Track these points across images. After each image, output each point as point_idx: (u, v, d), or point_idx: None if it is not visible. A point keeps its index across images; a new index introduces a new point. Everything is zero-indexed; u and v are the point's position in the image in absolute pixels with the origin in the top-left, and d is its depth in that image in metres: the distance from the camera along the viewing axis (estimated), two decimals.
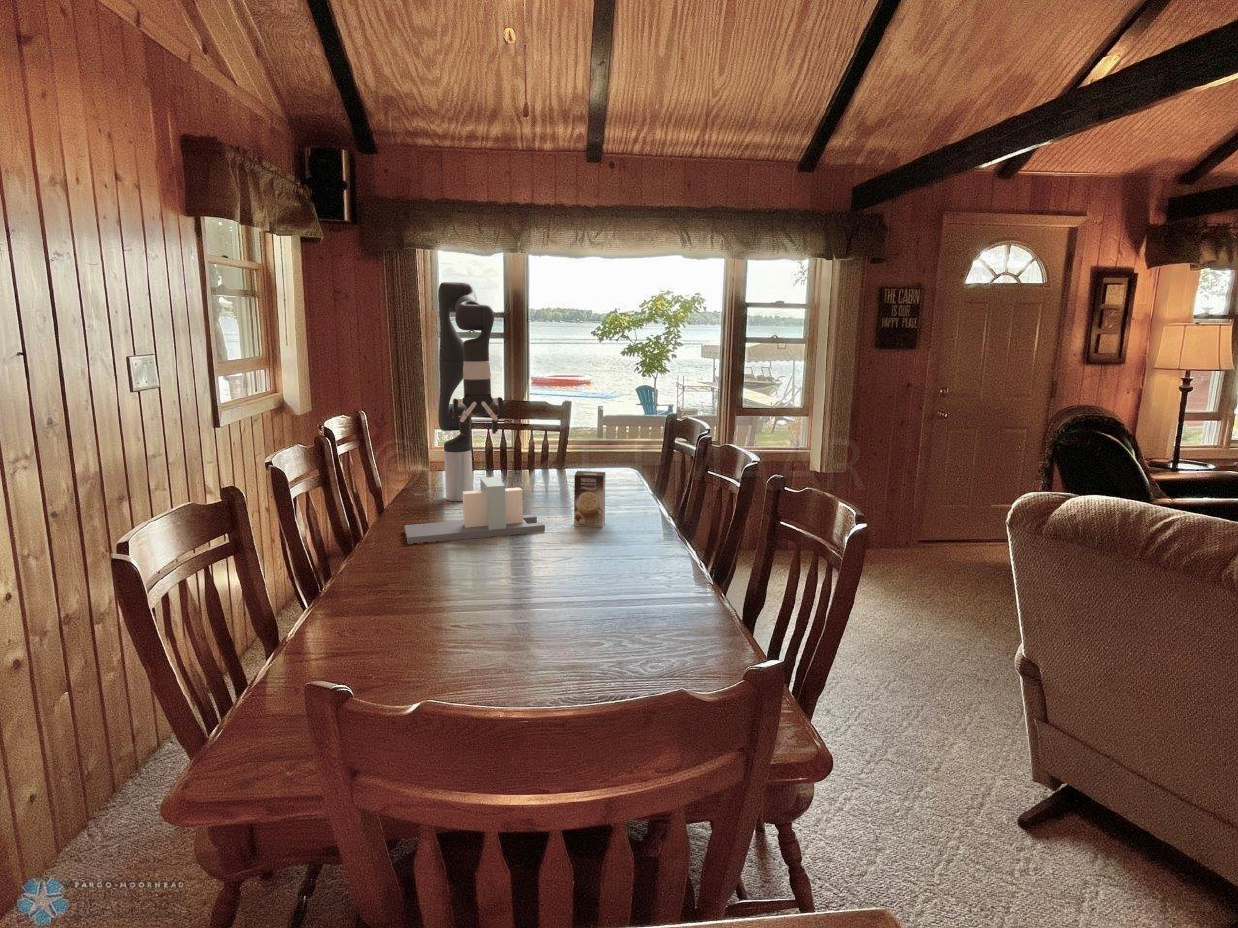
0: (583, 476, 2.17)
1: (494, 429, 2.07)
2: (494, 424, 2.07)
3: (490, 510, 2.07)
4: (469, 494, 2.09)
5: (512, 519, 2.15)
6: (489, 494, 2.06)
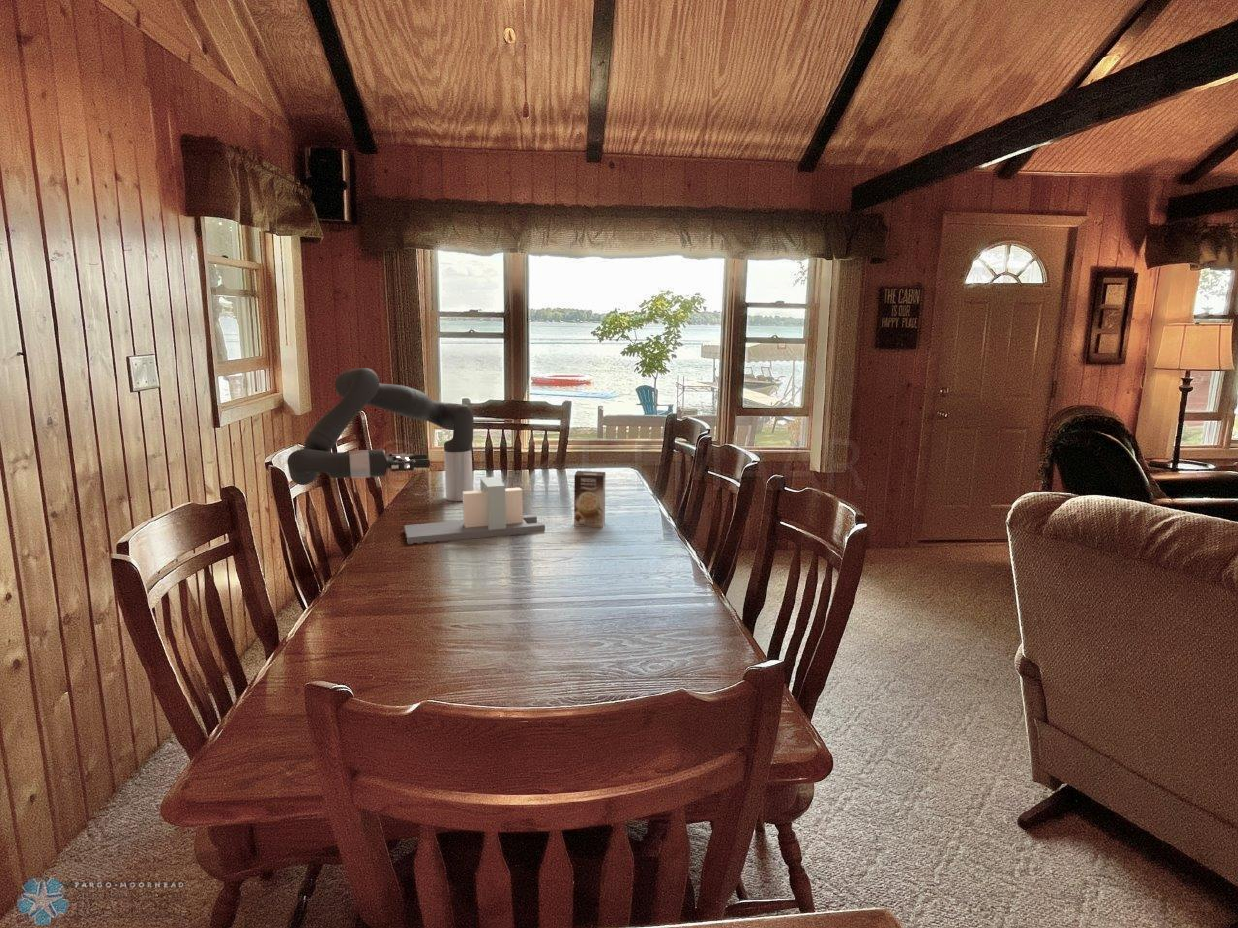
0: (583, 476, 2.17)
1: None
2: None
3: (490, 510, 2.07)
4: (469, 494, 2.09)
5: (512, 519, 2.15)
6: (489, 494, 2.06)
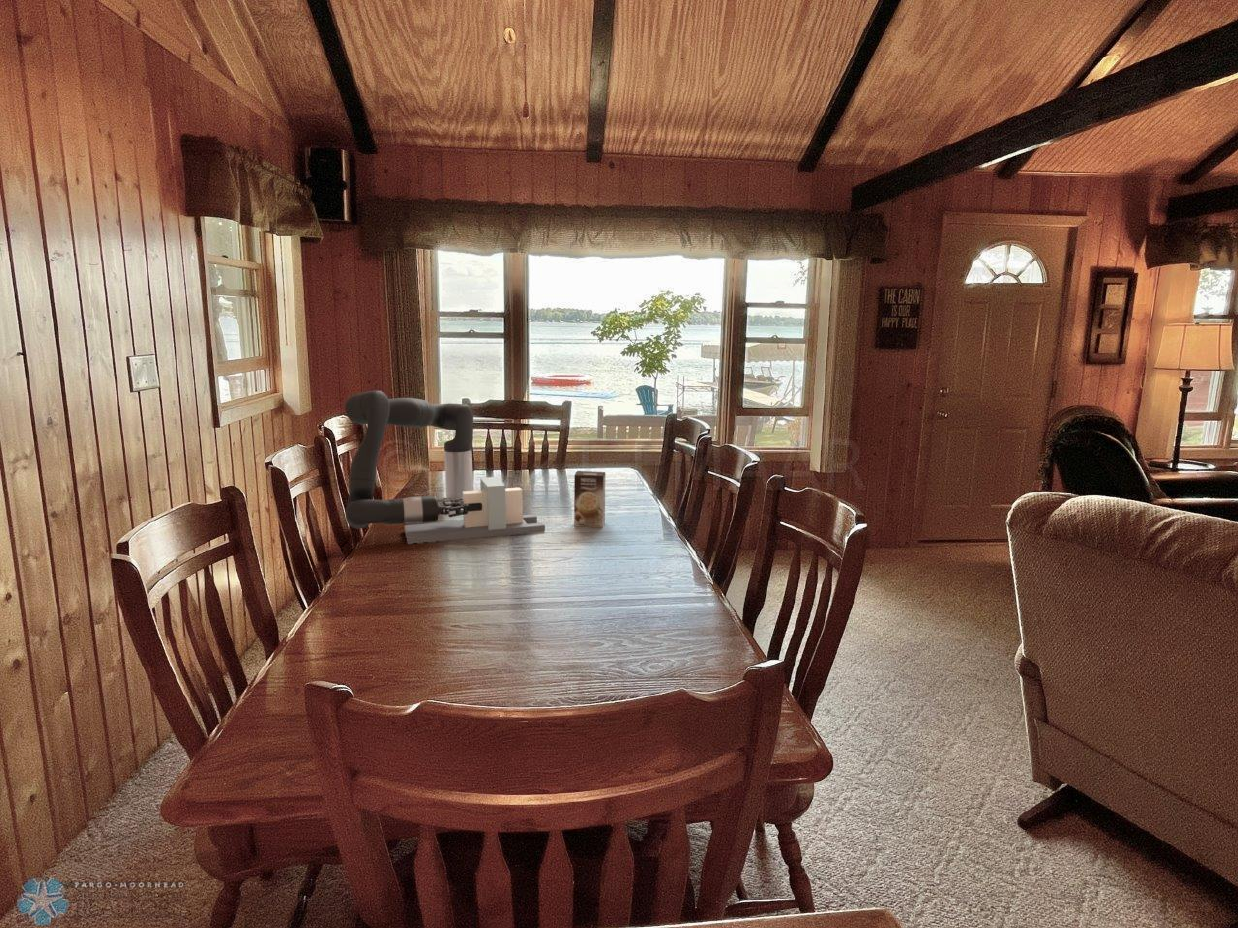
0: (583, 476, 2.17)
1: None
2: None
3: (490, 510, 2.07)
4: (469, 494, 2.09)
5: (512, 519, 2.15)
6: (489, 494, 2.06)
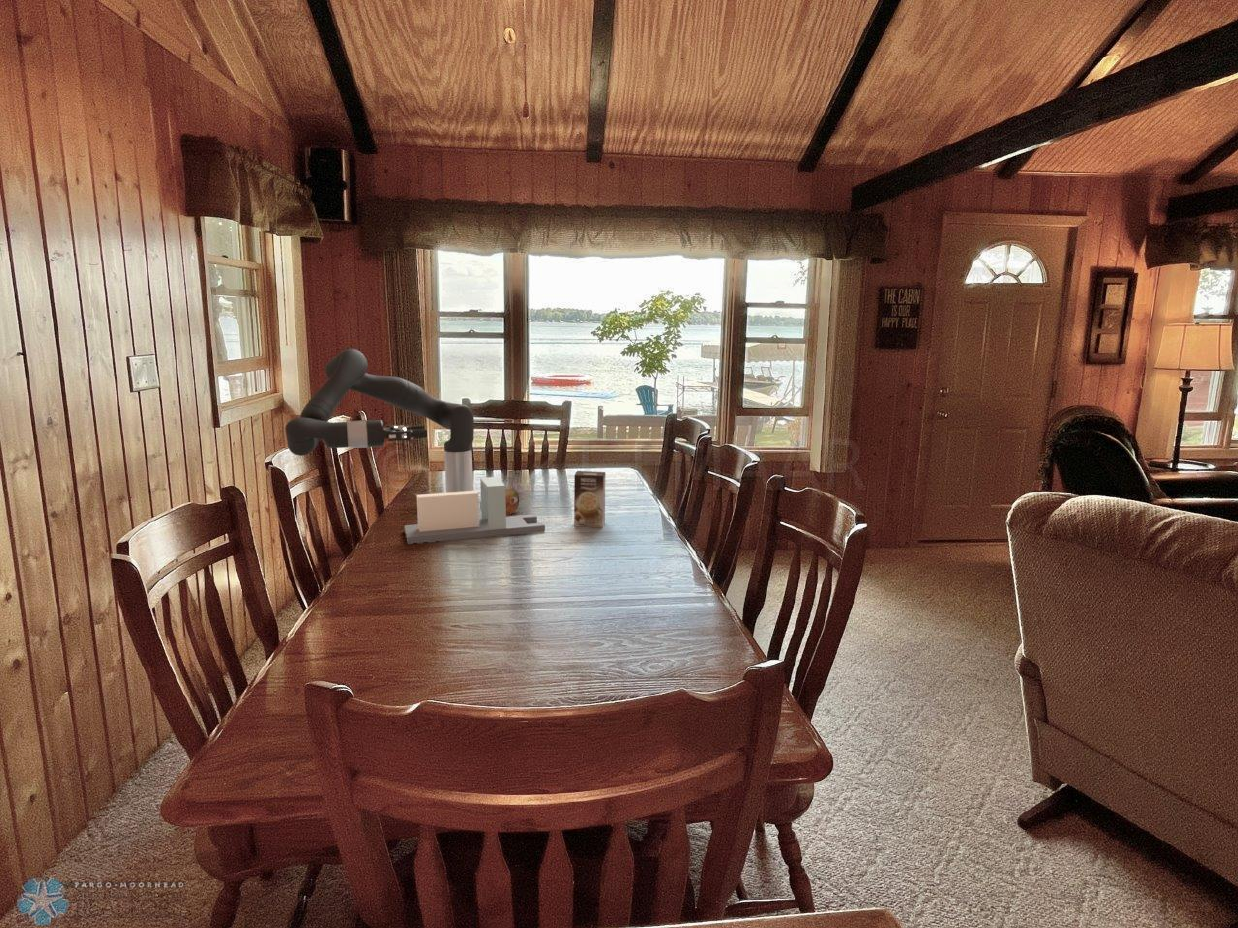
0: (583, 476, 2.17)
1: (422, 437, 2.02)
2: (416, 437, 2.02)
3: (490, 510, 2.07)
4: (423, 497, 2.05)
5: (468, 523, 2.11)
6: (489, 494, 2.06)
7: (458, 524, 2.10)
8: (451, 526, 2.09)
